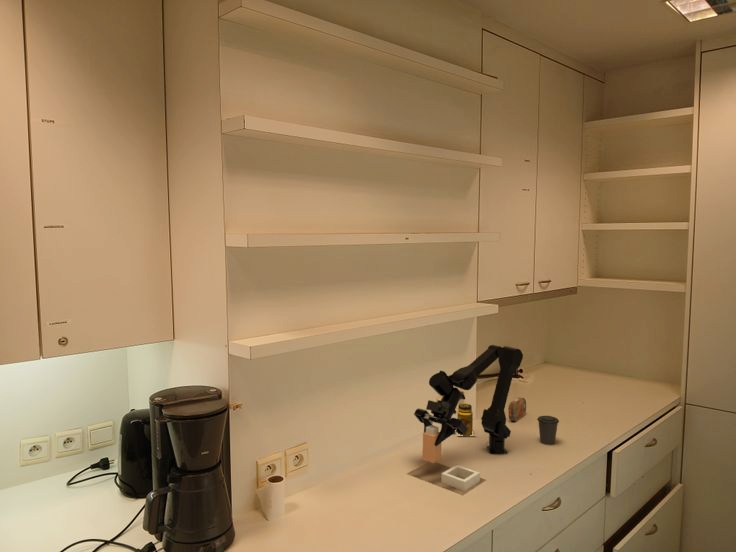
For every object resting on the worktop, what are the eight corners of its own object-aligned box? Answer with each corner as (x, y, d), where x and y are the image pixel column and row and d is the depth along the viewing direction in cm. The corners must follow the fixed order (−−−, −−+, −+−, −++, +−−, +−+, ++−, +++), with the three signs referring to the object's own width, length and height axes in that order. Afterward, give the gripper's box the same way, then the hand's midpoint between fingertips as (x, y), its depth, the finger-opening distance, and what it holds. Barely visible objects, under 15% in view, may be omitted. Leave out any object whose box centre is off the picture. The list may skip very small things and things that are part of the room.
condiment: (457, 437, 214) (457, 407, 213) (454, 429, 222) (454, 401, 222) (475, 437, 214) (476, 407, 213) (471, 429, 222) (472, 401, 222)
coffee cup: (560, 447, 204) (560, 421, 203) (537, 445, 205) (538, 420, 205) (557, 439, 212) (557, 414, 211) (535, 437, 213) (536, 413, 212)
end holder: (441, 482, 172) (441, 473, 172) (456, 473, 179) (456, 464, 178) (464, 491, 166) (465, 481, 166) (479, 481, 173) (479, 472, 172)
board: (406, 477, 179) (406, 473, 178) (431, 464, 189) (431, 460, 189) (462, 499, 164) (462, 495, 164) (486, 483, 174) (486, 479, 174)
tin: (513, 423, 229) (514, 404, 229) (506, 422, 231) (507, 403, 231) (526, 414, 241) (527, 396, 241) (520, 413, 243) (520, 394, 243)
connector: (422, 459, 180) (422, 427, 179) (430, 455, 183) (430, 423, 182) (433, 463, 177) (433, 430, 176) (441, 459, 180) (441, 427, 179)
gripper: (417, 385, 187) (396, 424, 180) (462, 396, 175) (443, 438, 167) (430, 402, 194) (411, 440, 186) (475, 413, 181) (456, 455, 174)
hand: (429, 443), depth 178 cm, fingers closed on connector, 4 cm apart
